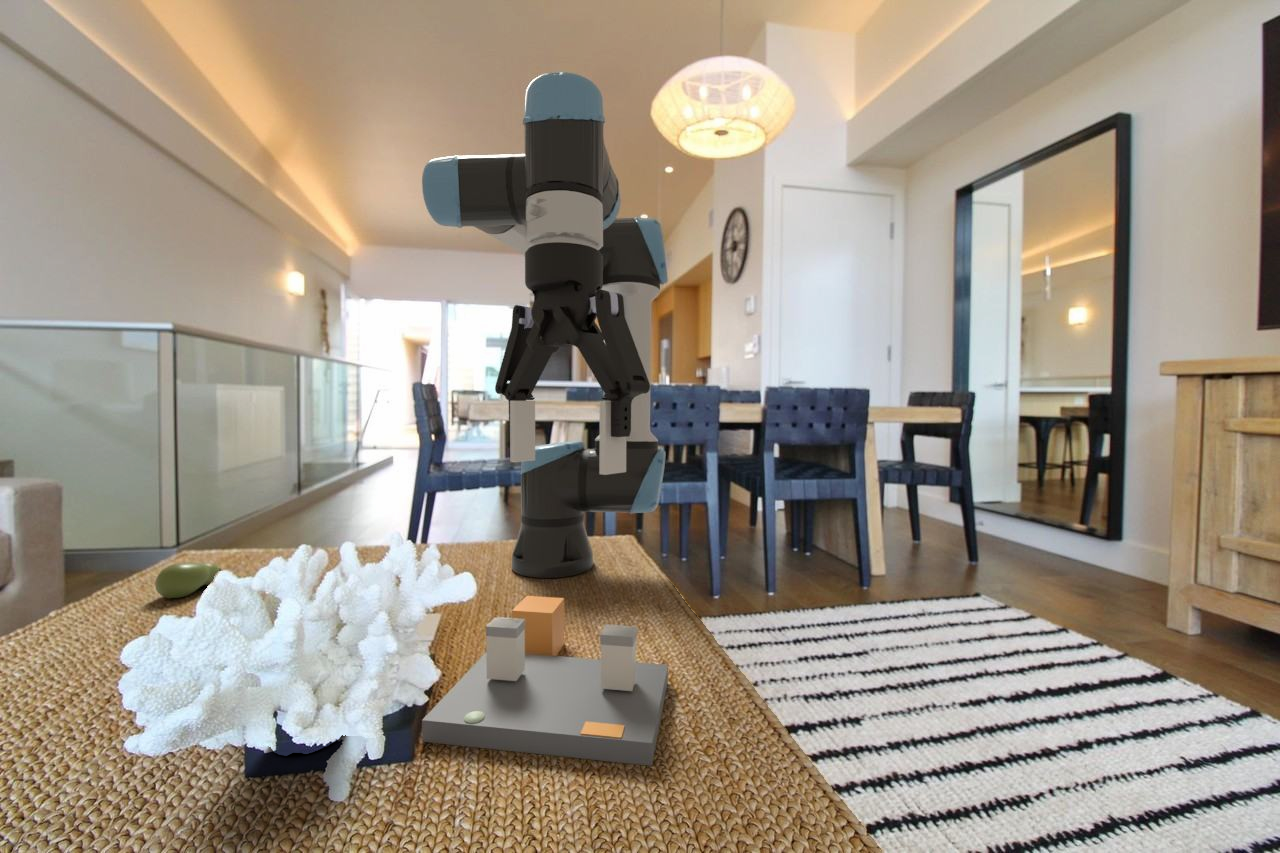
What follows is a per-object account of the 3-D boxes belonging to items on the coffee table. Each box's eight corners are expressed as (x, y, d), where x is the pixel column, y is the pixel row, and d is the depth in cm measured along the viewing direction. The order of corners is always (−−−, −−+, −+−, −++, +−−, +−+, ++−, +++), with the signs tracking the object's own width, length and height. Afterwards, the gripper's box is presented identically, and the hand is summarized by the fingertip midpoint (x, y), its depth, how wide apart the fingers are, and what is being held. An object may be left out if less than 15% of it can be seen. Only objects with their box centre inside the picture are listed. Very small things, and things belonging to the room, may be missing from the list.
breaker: (495, 667, 59) (495, 616, 58) (525, 669, 58) (525, 618, 58) (485, 678, 56) (485, 626, 56) (516, 681, 56) (516, 628, 55)
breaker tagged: (605, 676, 57) (605, 624, 57) (636, 678, 56) (636, 626, 56) (599, 688, 54) (600, 634, 54) (632, 691, 54) (633, 636, 54)
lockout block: (526, 641, 70) (526, 595, 70) (564, 644, 70) (564, 598, 69) (512, 659, 66) (511, 610, 65) (552, 662, 65) (552, 613, 64)
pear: (147, 565, 83) (201, 557, 93) (143, 601, 82) (198, 590, 92) (183, 565, 83) (233, 558, 93) (179, 601, 82) (230, 590, 92)
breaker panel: (487, 667, 63) (487, 649, 63) (667, 682, 60) (668, 663, 60) (422, 741, 49) (422, 719, 49) (651, 765, 46) (652, 741, 46)
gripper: (461, 263, 59) (463, 459, 60) (632, 210, 42) (630, 484, 43) (519, 275, 64) (520, 455, 65) (690, 233, 48) (687, 475, 49)
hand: (564, 467), depth 54 cm, fingers open, 13 cm apart
